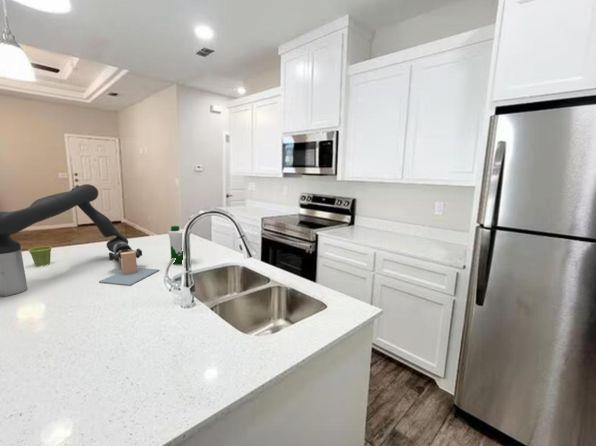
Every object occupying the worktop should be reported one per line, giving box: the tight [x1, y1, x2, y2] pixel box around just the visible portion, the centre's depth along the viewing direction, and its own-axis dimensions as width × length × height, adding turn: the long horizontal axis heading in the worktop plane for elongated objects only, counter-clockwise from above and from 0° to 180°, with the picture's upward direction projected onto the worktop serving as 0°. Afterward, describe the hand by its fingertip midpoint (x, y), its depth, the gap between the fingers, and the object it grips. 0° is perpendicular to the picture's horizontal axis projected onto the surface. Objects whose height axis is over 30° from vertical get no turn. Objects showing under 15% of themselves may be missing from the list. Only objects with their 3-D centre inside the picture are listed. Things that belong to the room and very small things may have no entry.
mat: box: [98, 267, 160, 287], centre depth 142 cm, size 20×16×1 cm
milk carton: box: [167, 225, 184, 266], centre depth 161 cm, size 9×9×20 cm
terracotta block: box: [120, 250, 138, 275], centre depth 144 cm, size 4×6×10 cm, turn 129°
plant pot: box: [27, 245, 53, 267], centre depth 155 cm, size 9×9×9 cm
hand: (128, 257), depth 145 cm, fingers open, 8 cm apart
